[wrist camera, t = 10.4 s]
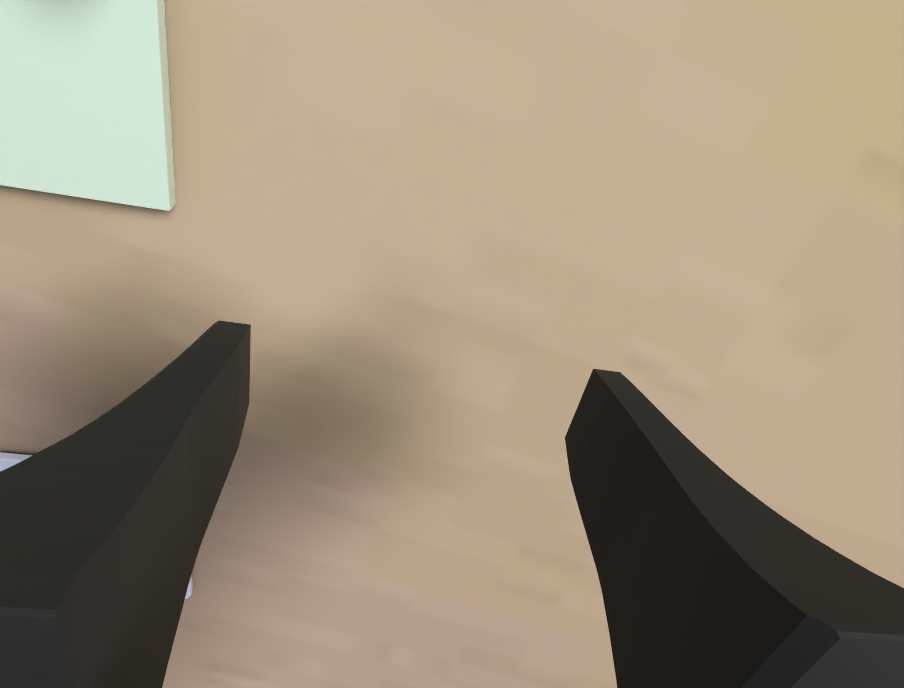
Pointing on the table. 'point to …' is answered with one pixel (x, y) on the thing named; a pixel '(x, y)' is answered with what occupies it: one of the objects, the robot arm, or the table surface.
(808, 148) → the table surface
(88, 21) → the tub lid
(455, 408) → the table surface
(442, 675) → the table surface
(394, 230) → the table surface
